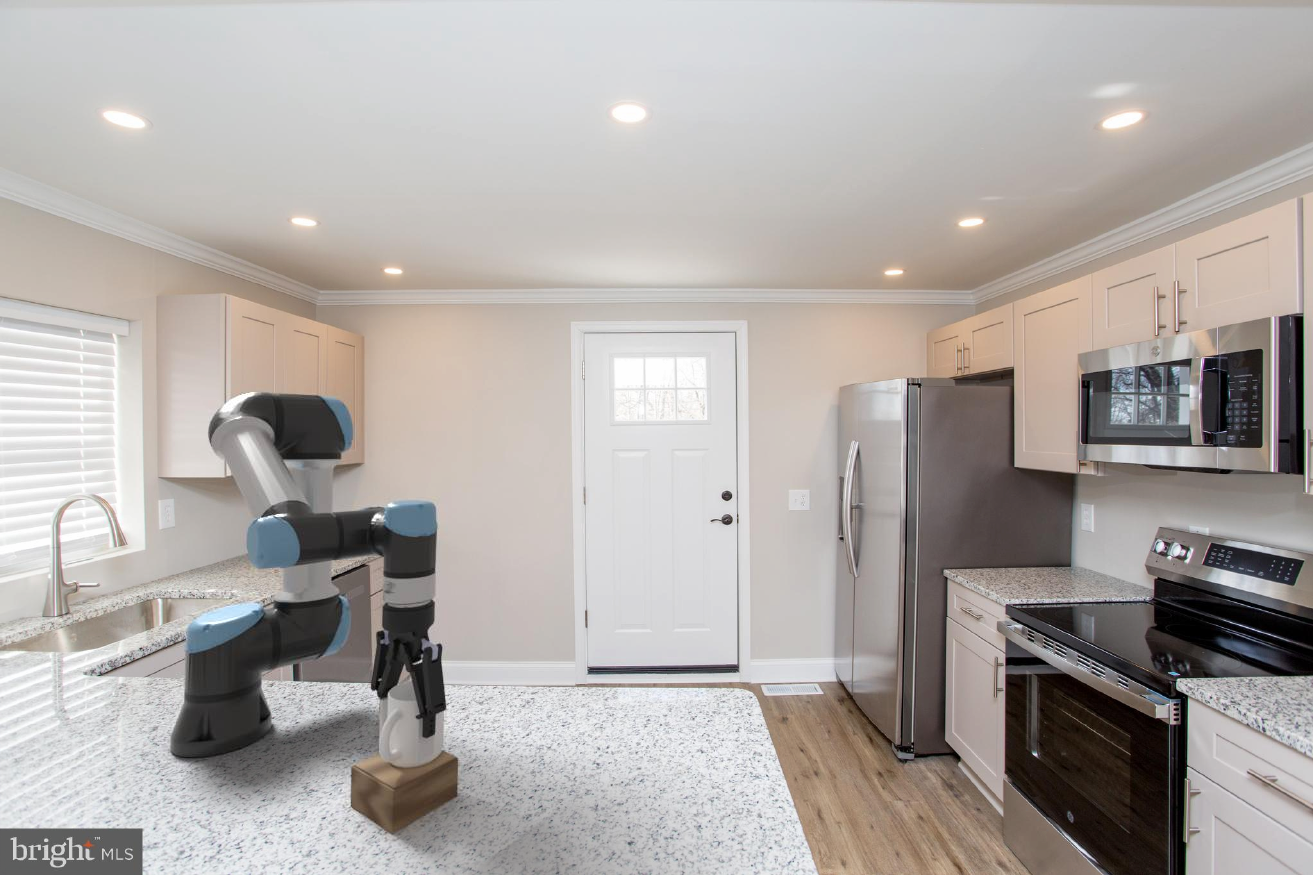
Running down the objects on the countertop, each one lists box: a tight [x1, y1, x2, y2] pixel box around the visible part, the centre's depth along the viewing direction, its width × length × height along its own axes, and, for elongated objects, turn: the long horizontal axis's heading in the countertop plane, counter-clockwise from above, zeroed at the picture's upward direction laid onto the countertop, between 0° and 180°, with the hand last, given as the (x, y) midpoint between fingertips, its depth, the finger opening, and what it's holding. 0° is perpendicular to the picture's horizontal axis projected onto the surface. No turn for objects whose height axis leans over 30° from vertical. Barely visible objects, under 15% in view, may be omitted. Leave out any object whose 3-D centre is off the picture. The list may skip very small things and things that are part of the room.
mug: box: [378, 679, 446, 768], centre depth 90 cm, size 12×8×10 cm
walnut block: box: [350, 749, 459, 835], centre depth 91 cm, size 11×11×6 cm
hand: (405, 746), depth 91 cm, fingers open, 9 cm apart
